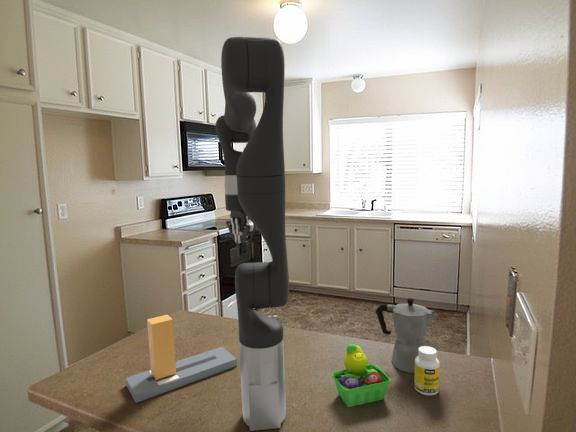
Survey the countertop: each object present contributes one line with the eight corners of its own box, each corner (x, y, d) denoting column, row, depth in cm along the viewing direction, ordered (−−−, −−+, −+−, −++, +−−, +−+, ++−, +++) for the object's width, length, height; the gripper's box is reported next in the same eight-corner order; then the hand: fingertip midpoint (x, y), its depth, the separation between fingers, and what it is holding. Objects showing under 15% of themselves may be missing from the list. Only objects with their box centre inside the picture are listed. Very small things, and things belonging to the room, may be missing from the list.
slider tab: (170, 366, 96) (167, 314, 95) (176, 373, 93) (172, 319, 92) (151, 373, 94) (146, 319, 92) (155, 380, 90) (151, 324, 89)
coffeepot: (437, 360, 101) (438, 295, 98) (435, 378, 92) (437, 307, 90) (378, 350, 107) (379, 289, 104) (372, 366, 98) (372, 300, 96)
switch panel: (222, 353, 108) (221, 346, 108) (237, 365, 101) (236, 358, 100) (126, 385, 93) (125, 377, 92) (135, 403, 85) (135, 394, 85)
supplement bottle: (423, 398, 84) (424, 357, 83) (409, 385, 89) (410, 346, 88) (444, 393, 86) (445, 353, 84) (429, 381, 91) (429, 342, 90)
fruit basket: (345, 412, 80) (344, 362, 79) (329, 389, 89) (328, 344, 87) (392, 402, 83) (392, 353, 82) (372, 380, 92) (372, 337, 90)
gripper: (215, 192, 103) (218, 254, 105) (238, 194, 92) (241, 263, 94) (239, 190, 107) (242, 250, 109) (264, 192, 96) (266, 258, 98)
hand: (242, 256), depth 102 cm, fingers closed
